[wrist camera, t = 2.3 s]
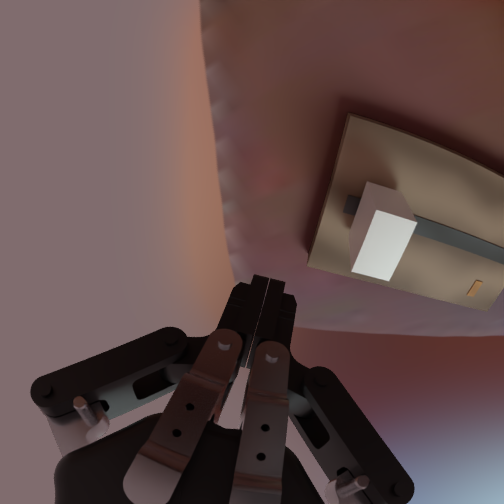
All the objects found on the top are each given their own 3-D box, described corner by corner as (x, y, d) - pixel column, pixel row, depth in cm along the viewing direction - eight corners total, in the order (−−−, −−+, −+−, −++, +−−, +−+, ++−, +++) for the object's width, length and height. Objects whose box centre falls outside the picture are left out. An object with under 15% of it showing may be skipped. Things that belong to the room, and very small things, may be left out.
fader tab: (366, 181, 22) (376, 209, 18) (401, 192, 22) (417, 222, 18) (348, 235, 25) (351, 271, 21) (380, 244, 25) (389, 281, 20)
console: (348, 112, 21) (350, 115, 20) (538, 196, 20) (549, 205, 18) (308, 254, 30) (306, 266, 28) (481, 300, 28) (487, 312, 26)
